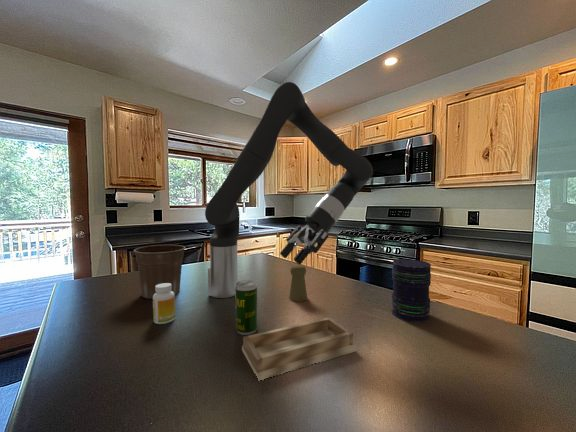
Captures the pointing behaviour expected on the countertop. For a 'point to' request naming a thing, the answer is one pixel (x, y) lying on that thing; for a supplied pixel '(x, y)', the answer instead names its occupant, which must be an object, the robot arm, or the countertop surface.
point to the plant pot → (159, 267)
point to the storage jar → (411, 290)
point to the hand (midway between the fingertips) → (289, 259)
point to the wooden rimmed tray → (296, 346)
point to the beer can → (246, 307)
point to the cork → (298, 283)
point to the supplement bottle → (163, 304)
